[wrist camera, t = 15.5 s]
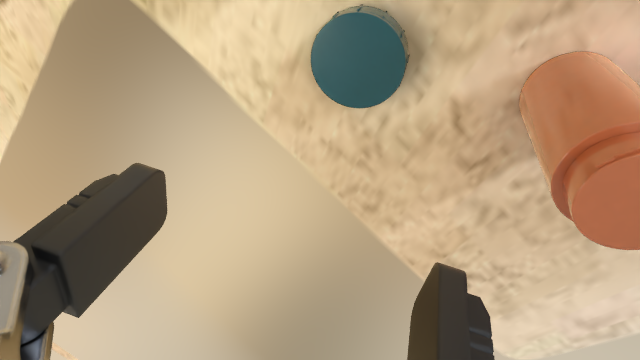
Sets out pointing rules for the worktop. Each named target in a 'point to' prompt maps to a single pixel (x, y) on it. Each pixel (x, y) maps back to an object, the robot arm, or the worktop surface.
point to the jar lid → (360, 57)
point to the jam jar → (588, 143)
